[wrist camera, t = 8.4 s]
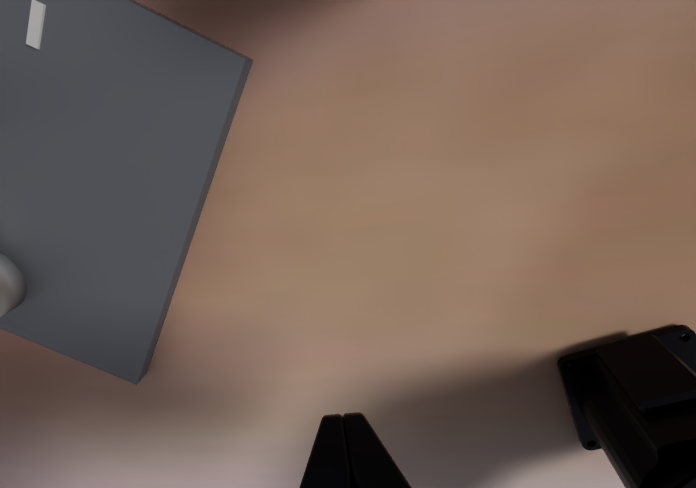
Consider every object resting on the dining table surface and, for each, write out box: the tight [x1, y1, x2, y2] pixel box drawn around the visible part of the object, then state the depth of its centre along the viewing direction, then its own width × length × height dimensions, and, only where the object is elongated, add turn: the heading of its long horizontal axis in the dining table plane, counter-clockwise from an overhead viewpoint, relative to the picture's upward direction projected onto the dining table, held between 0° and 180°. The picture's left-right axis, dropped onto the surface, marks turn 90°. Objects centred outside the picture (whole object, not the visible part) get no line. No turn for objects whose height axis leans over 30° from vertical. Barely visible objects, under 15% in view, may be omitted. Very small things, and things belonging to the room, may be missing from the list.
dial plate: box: [0, 0, 253, 384], centre depth 20 cm, size 18×19×1 cm
